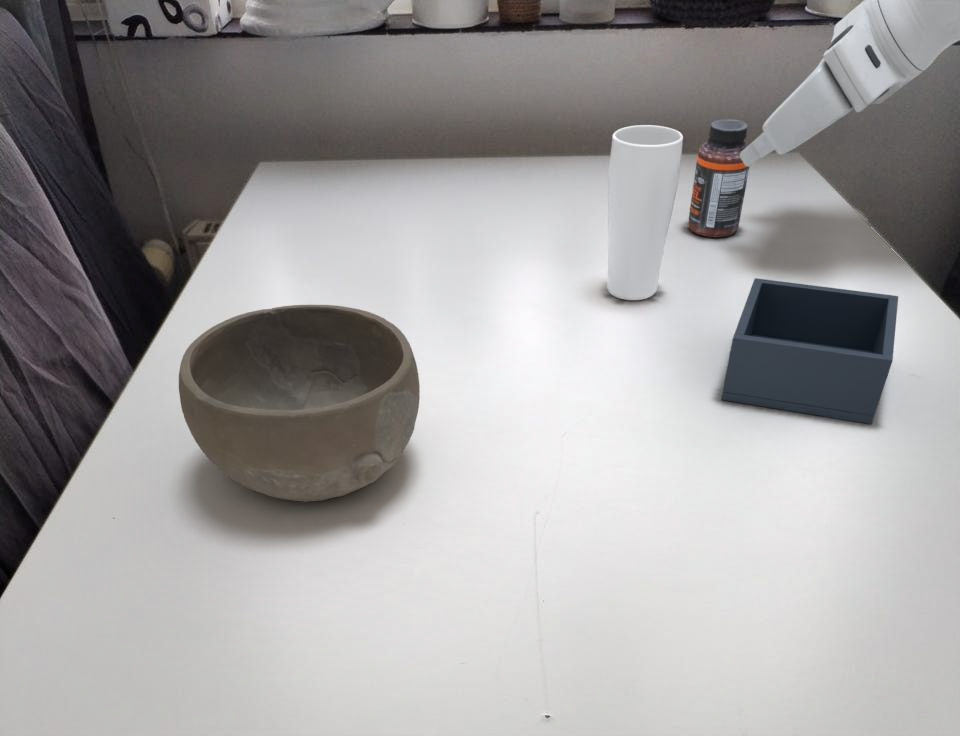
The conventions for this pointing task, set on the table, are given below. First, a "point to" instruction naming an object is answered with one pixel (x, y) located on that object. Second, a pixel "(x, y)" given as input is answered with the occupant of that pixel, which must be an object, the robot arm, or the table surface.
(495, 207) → the table surface
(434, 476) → the table surface
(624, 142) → the drinking glass
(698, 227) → the supplement bottle
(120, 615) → the table surface
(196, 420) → the bowl
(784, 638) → the table surface
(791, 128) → the robot arm
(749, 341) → the bin
